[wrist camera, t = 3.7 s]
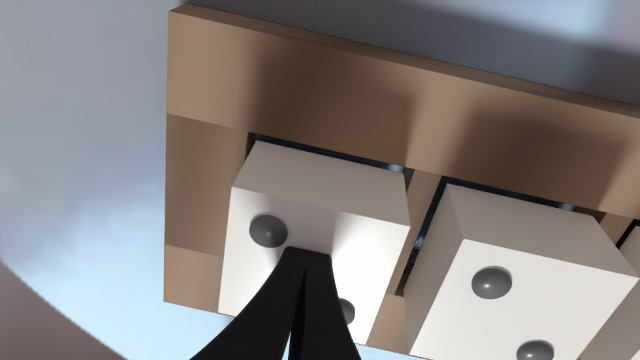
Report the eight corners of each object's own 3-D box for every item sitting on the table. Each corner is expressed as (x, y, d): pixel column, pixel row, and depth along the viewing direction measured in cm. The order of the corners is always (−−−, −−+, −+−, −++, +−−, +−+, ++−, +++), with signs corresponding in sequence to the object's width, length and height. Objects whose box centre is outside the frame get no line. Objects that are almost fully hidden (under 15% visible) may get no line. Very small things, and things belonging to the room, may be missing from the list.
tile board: (912, 169, 14) (967, 193, 13) (683, 389, 20) (704, 420, 19) (187, 3, 14) (168, 11, 13) (176, 277, 20) (163, 301, 19)
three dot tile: (403, 173, 15) (410, 229, 12) (366, 281, 17) (365, 347, 14) (256, 140, 14) (230, 188, 12) (241, 253, 17) (216, 314, 14)
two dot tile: (592, 216, 15) (641, 280, 12) (527, 317, 17) (555, 389, 14) (447, 183, 15) (464, 241, 12) (403, 289, 17) (409, 357, 14)
